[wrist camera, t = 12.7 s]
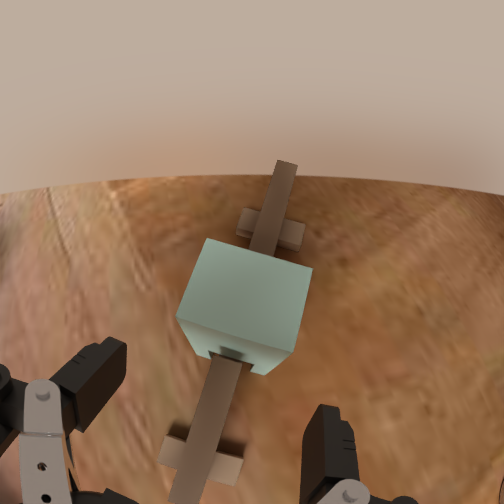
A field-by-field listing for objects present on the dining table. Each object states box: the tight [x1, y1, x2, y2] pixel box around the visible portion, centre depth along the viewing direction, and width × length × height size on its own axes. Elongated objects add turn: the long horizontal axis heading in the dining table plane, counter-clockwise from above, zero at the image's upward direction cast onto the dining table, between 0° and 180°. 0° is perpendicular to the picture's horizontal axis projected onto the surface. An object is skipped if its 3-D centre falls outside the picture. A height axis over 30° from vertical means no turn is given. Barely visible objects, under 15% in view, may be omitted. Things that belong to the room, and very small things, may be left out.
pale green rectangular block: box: [175, 238, 313, 375], centre depth 19 cm, size 6×4×11 cm
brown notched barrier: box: [157, 160, 306, 504], centre depth 21 cm, size 6×24×8 cm, turn 164°
